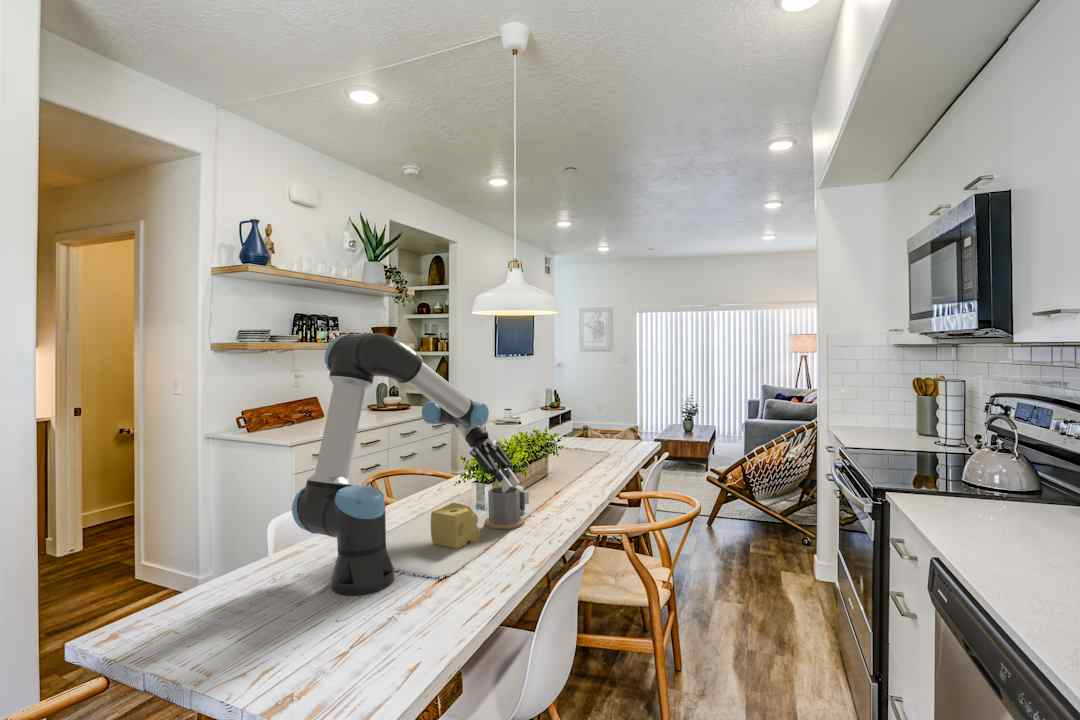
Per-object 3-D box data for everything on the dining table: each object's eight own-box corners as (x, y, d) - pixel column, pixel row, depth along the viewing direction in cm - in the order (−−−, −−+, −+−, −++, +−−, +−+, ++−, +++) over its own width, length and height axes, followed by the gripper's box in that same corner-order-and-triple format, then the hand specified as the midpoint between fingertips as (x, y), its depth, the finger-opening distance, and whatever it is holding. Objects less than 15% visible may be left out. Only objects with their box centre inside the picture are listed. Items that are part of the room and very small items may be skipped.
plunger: (517, 517, 183) (516, 469, 183) (500, 521, 180) (498, 472, 180) (509, 512, 189) (507, 466, 188) (491, 516, 186) (490, 468, 185)
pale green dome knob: (533, 513, 195) (532, 487, 194) (508, 518, 190) (507, 491, 190) (523, 508, 201) (522, 483, 201) (498, 512, 197) (497, 487, 196)
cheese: (479, 539, 171) (478, 506, 170) (456, 550, 161) (455, 516, 161) (453, 533, 176) (452, 502, 176) (429, 544, 167) (428, 511, 167)
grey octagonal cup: (532, 524, 182) (531, 491, 182) (495, 532, 176) (494, 497, 175) (514, 514, 194) (513, 482, 193) (478, 521, 187) (477, 488, 187)
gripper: (484, 435, 200) (522, 488, 190) (450, 443, 186) (490, 499, 177) (495, 421, 196) (534, 474, 187) (462, 428, 183) (502, 485, 174)
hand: (512, 486), depth 182 cm, fingers closed on plunger, 3 cm apart
